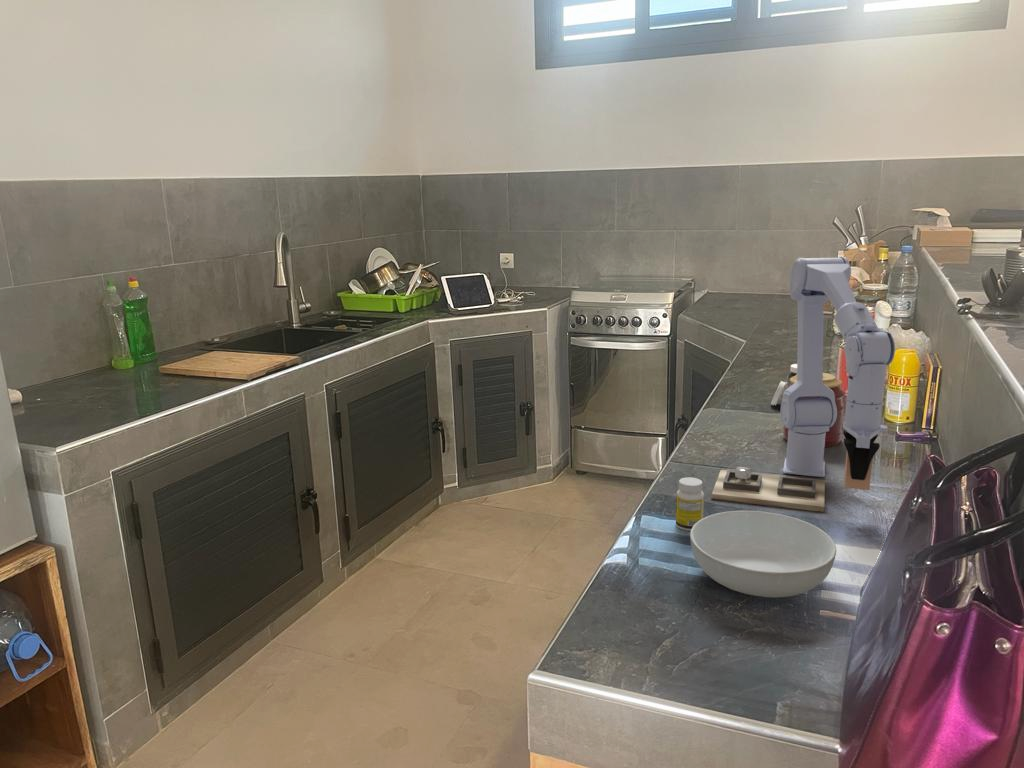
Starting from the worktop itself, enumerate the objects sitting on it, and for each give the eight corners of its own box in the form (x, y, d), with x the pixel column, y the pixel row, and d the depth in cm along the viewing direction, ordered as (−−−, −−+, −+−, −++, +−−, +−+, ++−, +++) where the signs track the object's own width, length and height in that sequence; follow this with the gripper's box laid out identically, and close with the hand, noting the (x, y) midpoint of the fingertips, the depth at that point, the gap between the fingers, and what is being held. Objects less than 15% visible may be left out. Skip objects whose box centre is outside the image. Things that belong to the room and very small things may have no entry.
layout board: (720, 474, 162) (721, 464, 162) (824, 485, 155) (825, 474, 155) (711, 498, 150) (712, 487, 149) (823, 512, 142) (824, 500, 142)
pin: (735, 480, 156) (736, 466, 155) (751, 482, 155) (752, 467, 154) (733, 485, 153) (734, 471, 152) (749, 487, 152) (750, 472, 151)
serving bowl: (661, 581, 119) (662, 539, 117) (733, 537, 133) (735, 500, 131) (791, 633, 104) (795, 586, 103) (856, 578, 119) (860, 536, 117)
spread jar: (822, 414, 203) (826, 370, 201) (778, 414, 204) (781, 371, 201) (806, 402, 215) (809, 360, 212) (765, 402, 215) (767, 361, 213)
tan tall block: (844, 479, 142) (847, 443, 140) (868, 482, 140) (871, 445, 139) (844, 487, 138) (847, 449, 137) (869, 490, 137) (873, 452, 135)
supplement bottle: (683, 518, 141) (685, 474, 139) (707, 524, 138) (709, 480, 136) (670, 527, 137) (672, 482, 135) (695, 534, 134) (697, 488, 132)
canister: (842, 434, 186) (848, 362, 182) (839, 451, 175) (846, 374, 171) (785, 428, 192) (789, 358, 187) (778, 444, 180) (783, 369, 176)
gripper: (893, 413, 128) (885, 491, 131) (887, 392, 141) (879, 463, 144) (846, 410, 130) (839, 486, 133) (844, 389, 143) (838, 459, 146)
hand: (857, 474), depth 139 cm, fingers closed on tan tall block, 4 cm apart
